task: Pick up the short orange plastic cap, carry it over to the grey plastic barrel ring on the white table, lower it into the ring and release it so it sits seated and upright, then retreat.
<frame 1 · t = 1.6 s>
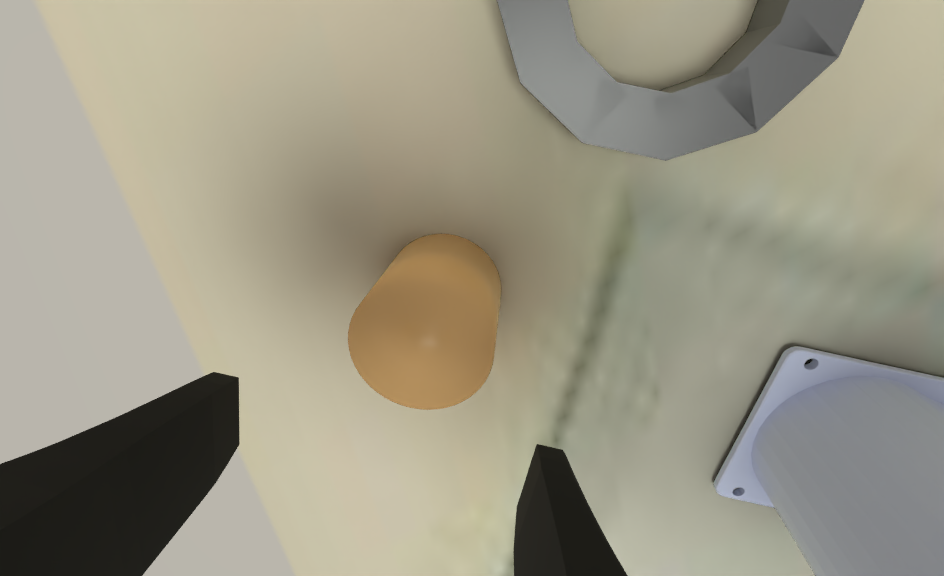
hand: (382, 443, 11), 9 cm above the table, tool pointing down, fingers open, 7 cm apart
cap: (444, 288, 20), on the table
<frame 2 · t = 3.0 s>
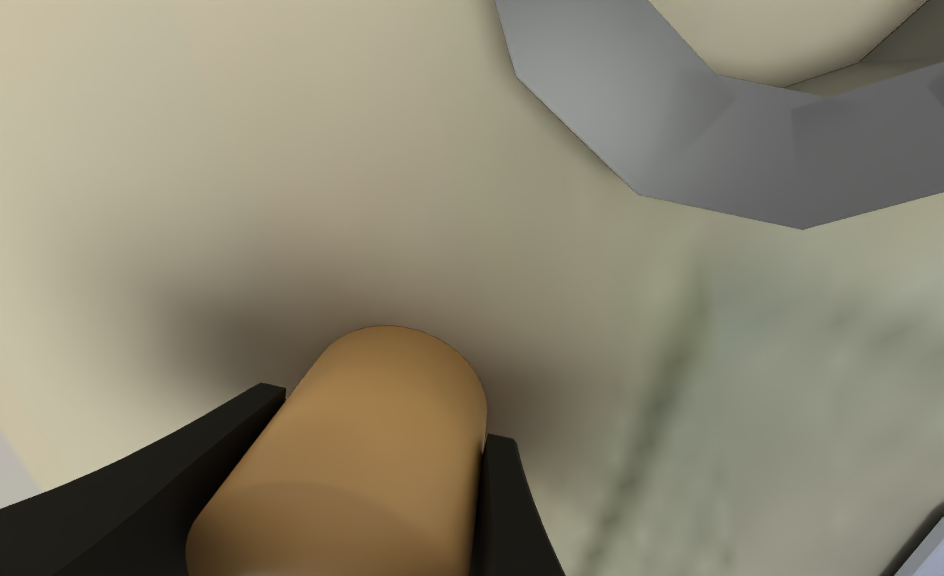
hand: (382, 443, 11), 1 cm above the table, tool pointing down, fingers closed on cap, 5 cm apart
cap: (396, 406, 13), on the table, touching gripper
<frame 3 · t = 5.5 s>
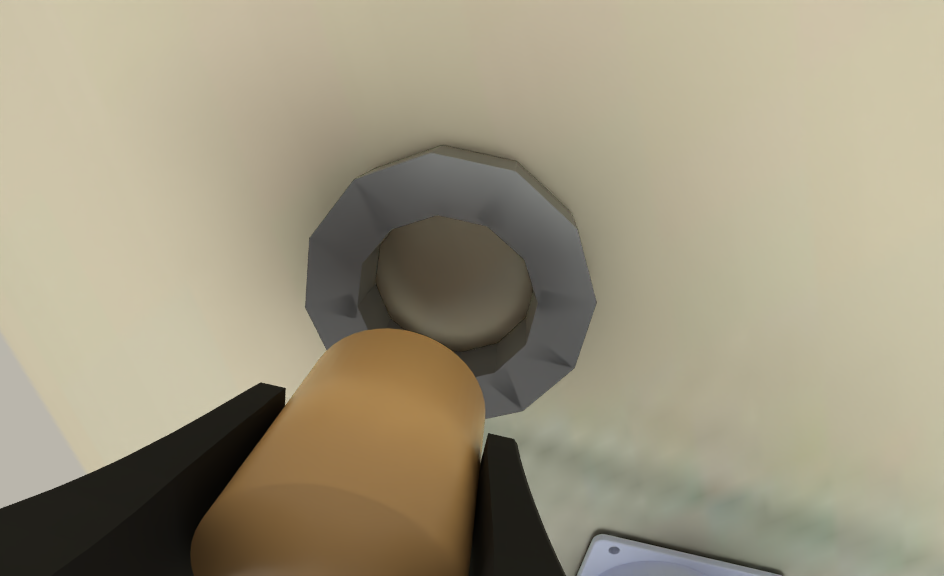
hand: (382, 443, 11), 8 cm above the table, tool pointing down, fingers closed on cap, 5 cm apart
cap: (396, 407, 13), point 7 cm above the table, touching gripper
barrel ring: (454, 281, 19), on the table
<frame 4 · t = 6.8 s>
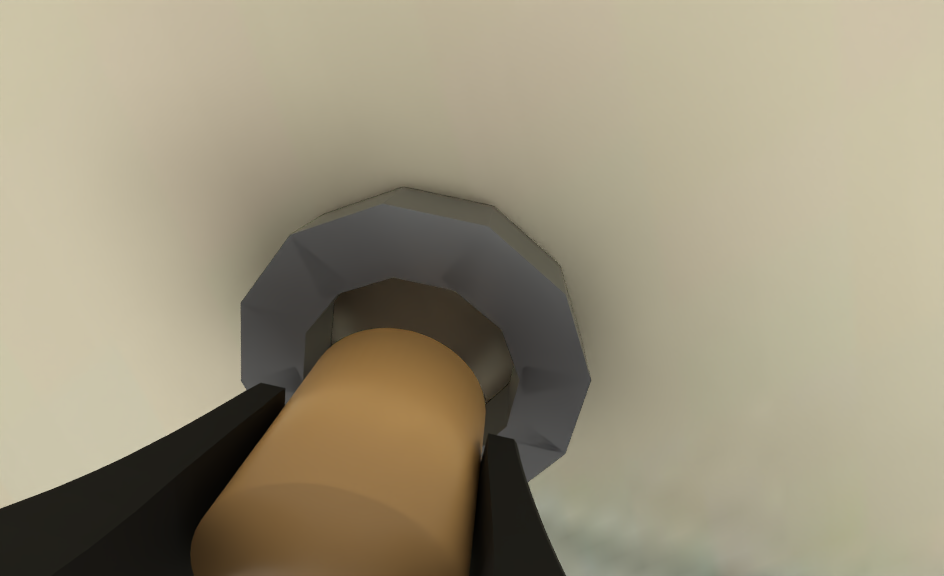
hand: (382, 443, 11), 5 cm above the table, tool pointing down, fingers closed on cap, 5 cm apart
cap: (396, 407, 13), point 3 cm above the table, touching gripper
barrel ring: (423, 343, 16), on the table
when the fingers open (3 cm above the table, at t = 7.8 s): cap drops 1 cm, resting in barrel ring.
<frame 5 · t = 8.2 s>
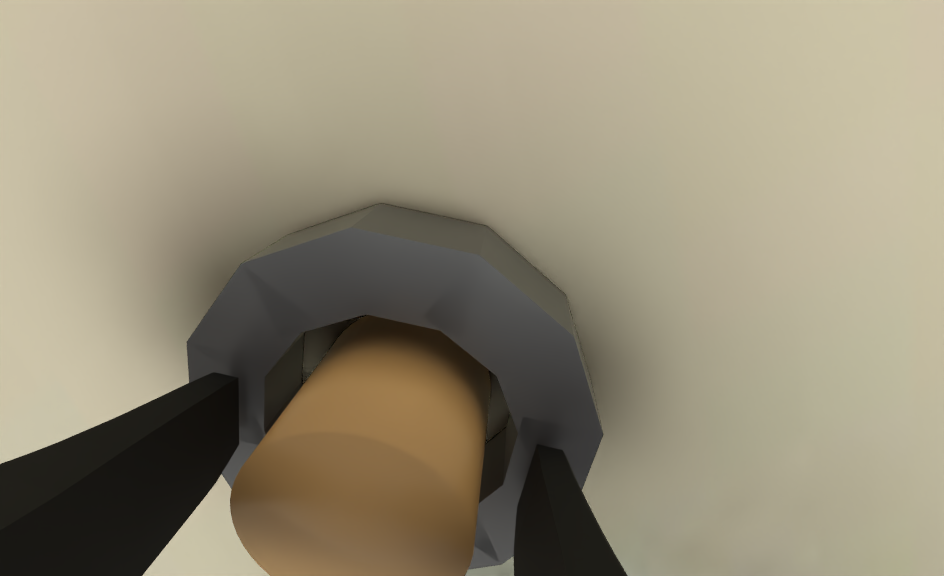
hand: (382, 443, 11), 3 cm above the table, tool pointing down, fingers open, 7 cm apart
cap: (408, 383, 14), resting in barrel ring
barrel ring: (407, 381, 14), on the table
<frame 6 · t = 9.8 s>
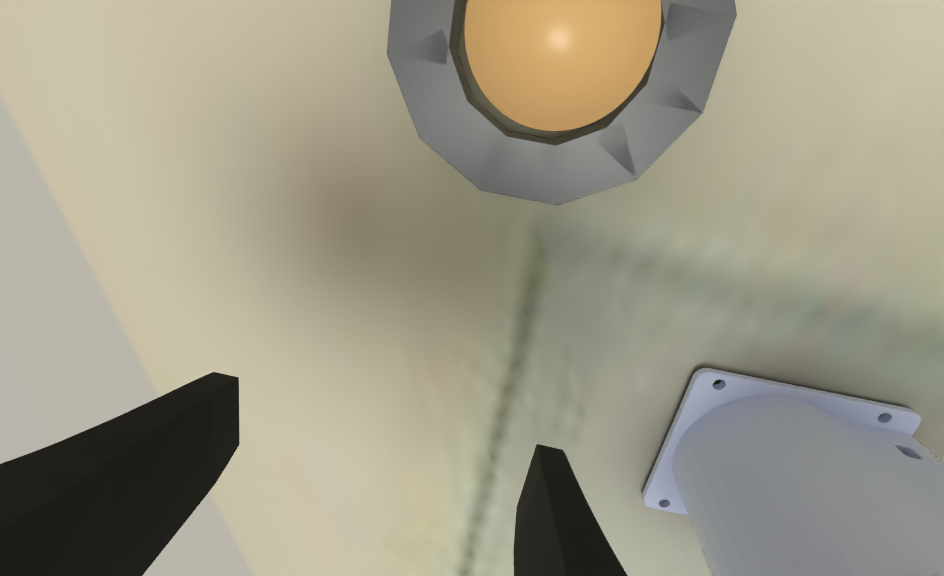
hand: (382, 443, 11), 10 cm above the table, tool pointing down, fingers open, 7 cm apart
cap: (550, 46, 16), resting in barrel ring
barrel ring: (549, 41, 16), on the table
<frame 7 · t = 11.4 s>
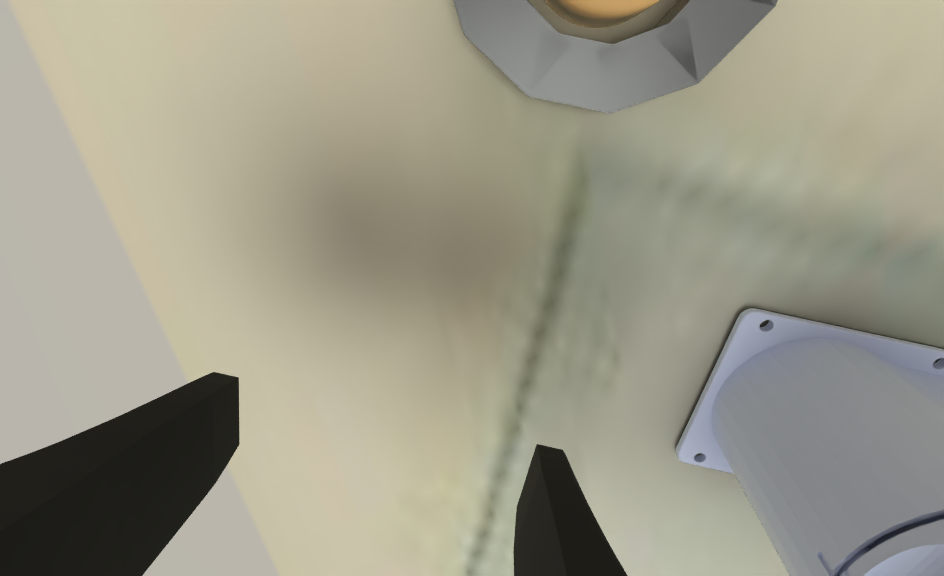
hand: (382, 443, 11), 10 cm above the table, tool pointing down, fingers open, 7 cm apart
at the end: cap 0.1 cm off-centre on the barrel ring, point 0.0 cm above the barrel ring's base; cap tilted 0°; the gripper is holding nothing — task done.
